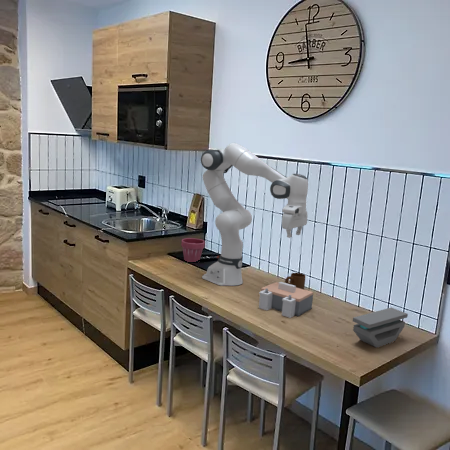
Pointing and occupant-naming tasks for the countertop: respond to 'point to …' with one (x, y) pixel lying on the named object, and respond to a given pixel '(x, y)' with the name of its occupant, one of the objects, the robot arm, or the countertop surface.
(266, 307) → the cabinet
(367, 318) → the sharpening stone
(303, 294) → the door
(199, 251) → the plant pot
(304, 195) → the robot arm
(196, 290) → the countertop surface
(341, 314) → the countertop surface
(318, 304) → the countertop surface
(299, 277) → the mug
